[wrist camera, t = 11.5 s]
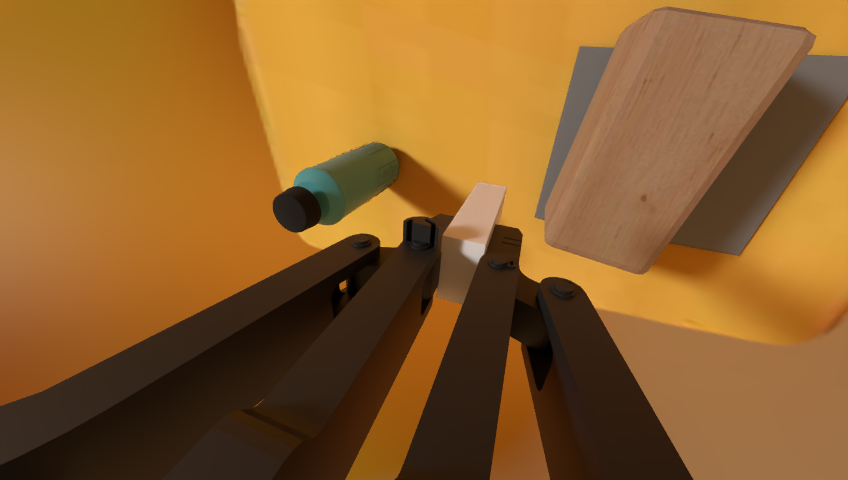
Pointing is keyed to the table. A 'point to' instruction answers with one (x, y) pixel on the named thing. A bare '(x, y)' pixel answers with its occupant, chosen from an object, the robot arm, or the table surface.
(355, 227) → the table surface
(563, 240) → the wooden block
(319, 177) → the beverage bottle
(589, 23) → the table surface
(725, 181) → the mat
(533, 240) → the table surface
